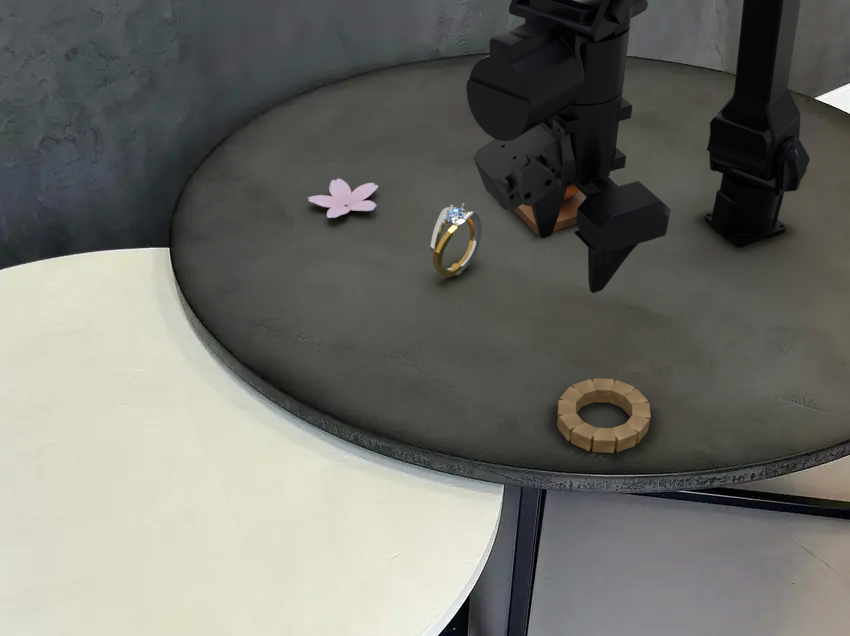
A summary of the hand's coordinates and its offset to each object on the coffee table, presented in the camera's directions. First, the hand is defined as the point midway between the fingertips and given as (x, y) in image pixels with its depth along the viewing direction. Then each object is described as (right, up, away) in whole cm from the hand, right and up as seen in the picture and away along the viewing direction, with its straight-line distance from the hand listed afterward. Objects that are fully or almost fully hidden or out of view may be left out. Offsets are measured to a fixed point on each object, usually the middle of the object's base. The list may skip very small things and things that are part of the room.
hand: (569, 262), depth 86 cm
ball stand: (+3, +14, +28) cm, 32 cm away
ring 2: (+4, -14, +4) cm, 15 cm away
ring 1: (-9, +4, +21) cm, 23 cm away
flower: (-21, +14, +31) cm, 40 cm away
